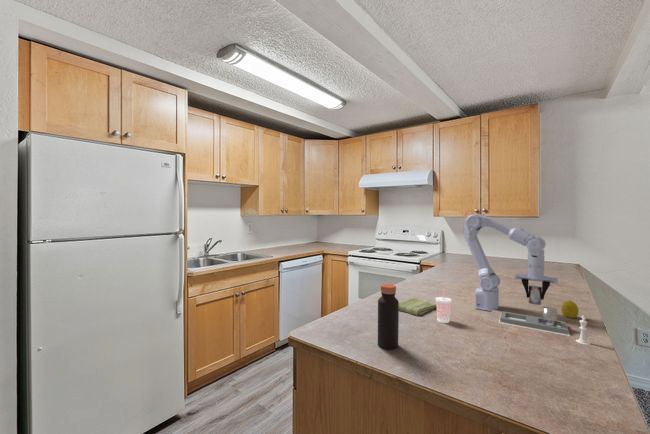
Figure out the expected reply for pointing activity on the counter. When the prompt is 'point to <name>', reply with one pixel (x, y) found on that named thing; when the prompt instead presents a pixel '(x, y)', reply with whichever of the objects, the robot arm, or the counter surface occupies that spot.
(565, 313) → the lemon
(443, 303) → the beverage cup
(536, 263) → the robot arm
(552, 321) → the cylinder
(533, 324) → the grey rectangular tray
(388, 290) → the bottle
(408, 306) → the washcloth
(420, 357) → the counter surface
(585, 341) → the chess piece
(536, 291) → the cylinder
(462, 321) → the counter surface
